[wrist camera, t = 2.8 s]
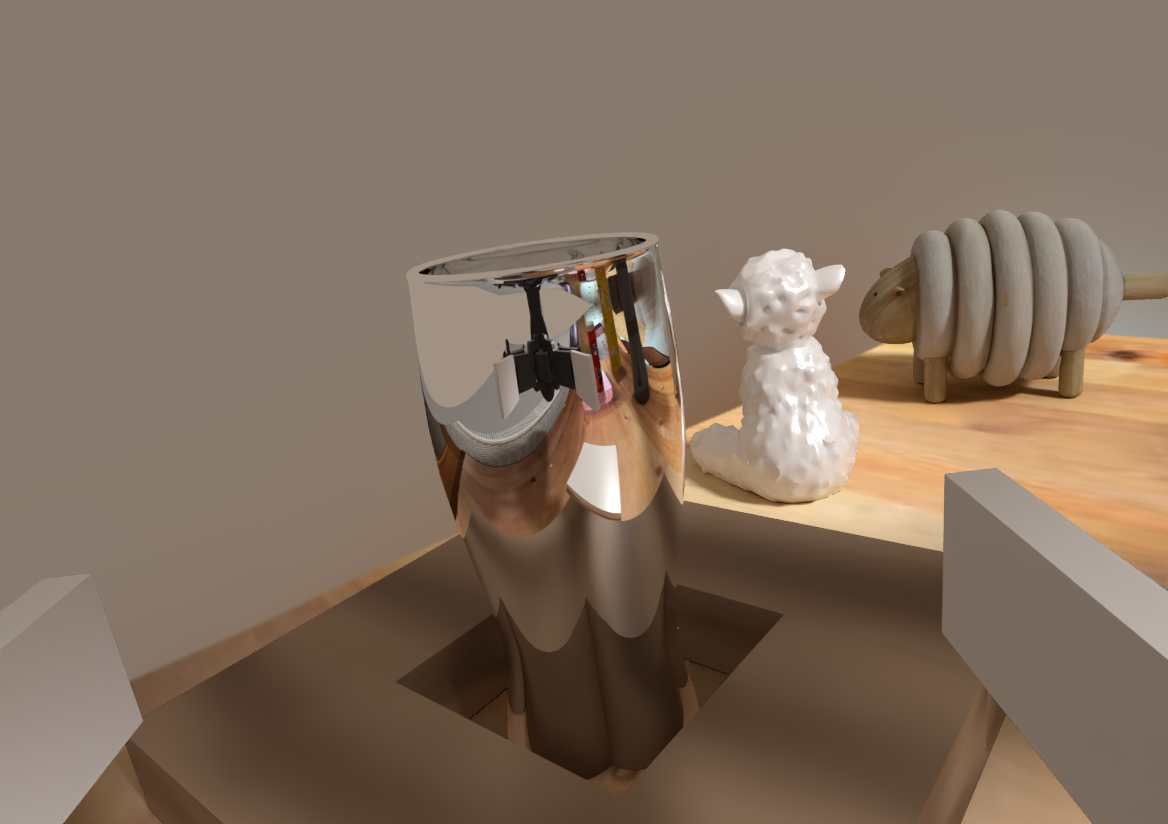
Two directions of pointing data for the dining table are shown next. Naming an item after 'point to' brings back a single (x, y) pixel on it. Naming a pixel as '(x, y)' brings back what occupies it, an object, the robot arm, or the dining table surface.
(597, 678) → the silver tumbler
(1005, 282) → the toy sheep
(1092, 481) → the dining table surface
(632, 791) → the pocket board
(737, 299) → the seated beast figurine
